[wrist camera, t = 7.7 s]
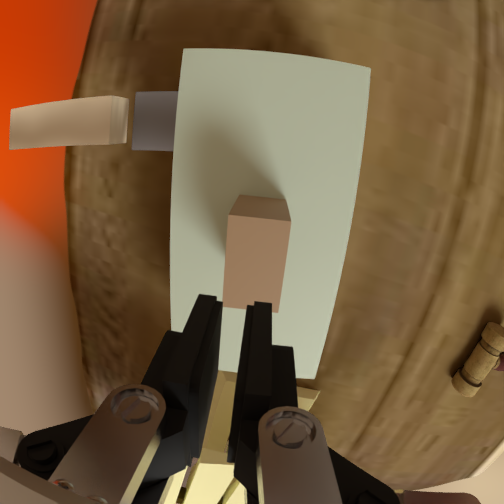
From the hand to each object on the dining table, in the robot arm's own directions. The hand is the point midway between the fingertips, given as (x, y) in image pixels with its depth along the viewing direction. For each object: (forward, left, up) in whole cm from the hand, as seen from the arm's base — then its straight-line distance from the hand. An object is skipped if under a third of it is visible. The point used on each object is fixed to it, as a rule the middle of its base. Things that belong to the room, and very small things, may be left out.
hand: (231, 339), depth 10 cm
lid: (0, 0, -13) cm, 13 cm away
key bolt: (-7, -13, -12) cm, 19 cm away
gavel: (+18, +40, -22) cm, 49 cm away
